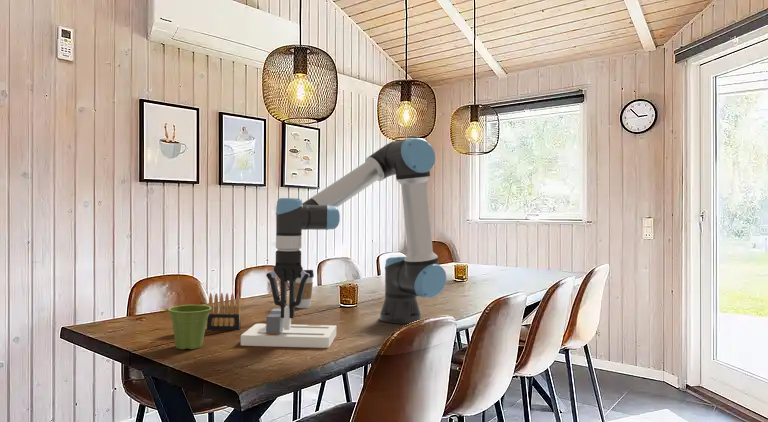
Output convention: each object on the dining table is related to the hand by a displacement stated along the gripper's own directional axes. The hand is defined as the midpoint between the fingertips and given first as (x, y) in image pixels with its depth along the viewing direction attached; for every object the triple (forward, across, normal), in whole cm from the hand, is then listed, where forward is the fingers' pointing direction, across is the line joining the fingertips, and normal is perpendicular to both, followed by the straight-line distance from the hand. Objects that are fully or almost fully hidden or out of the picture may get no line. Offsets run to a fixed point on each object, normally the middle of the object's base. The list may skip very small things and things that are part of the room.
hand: (287, 328), depth 163 cm
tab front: (+1, +4, 0) cm, 4 cm away
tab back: (+1, +5, -9) cm, 10 cm away
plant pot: (+5, +27, +6) cm, 28 cm away
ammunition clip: (+5, +25, -17) cm, 30 cm away
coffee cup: (+5, +7, -59) cm, 59 cm away
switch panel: (+4, 0, -5) cm, 6 cm away
